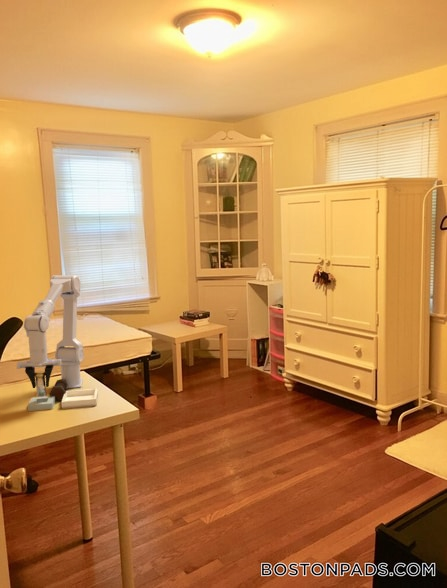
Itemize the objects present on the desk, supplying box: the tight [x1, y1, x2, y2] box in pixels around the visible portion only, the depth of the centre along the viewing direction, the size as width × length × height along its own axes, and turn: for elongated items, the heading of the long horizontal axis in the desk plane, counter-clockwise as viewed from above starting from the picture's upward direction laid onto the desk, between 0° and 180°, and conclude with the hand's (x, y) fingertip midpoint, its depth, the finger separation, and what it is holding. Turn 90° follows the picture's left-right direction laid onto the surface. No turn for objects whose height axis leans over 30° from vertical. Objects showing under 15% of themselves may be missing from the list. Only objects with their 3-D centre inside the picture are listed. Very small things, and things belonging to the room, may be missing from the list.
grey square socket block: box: [27, 395, 56, 412], centre depth 172 cm, size 8×8×2 cm
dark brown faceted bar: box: [48, 378, 68, 402], centre depth 184 cm, size 6×5×15 cm
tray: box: [61, 387, 99, 410], centre depth 176 cm, size 12×12×2 cm
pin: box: [34, 370, 47, 397], centre depth 171 cm, size 4×4×8 cm
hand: (40, 386), depth 172 cm, fingers closed on pin, 4 cm apart
